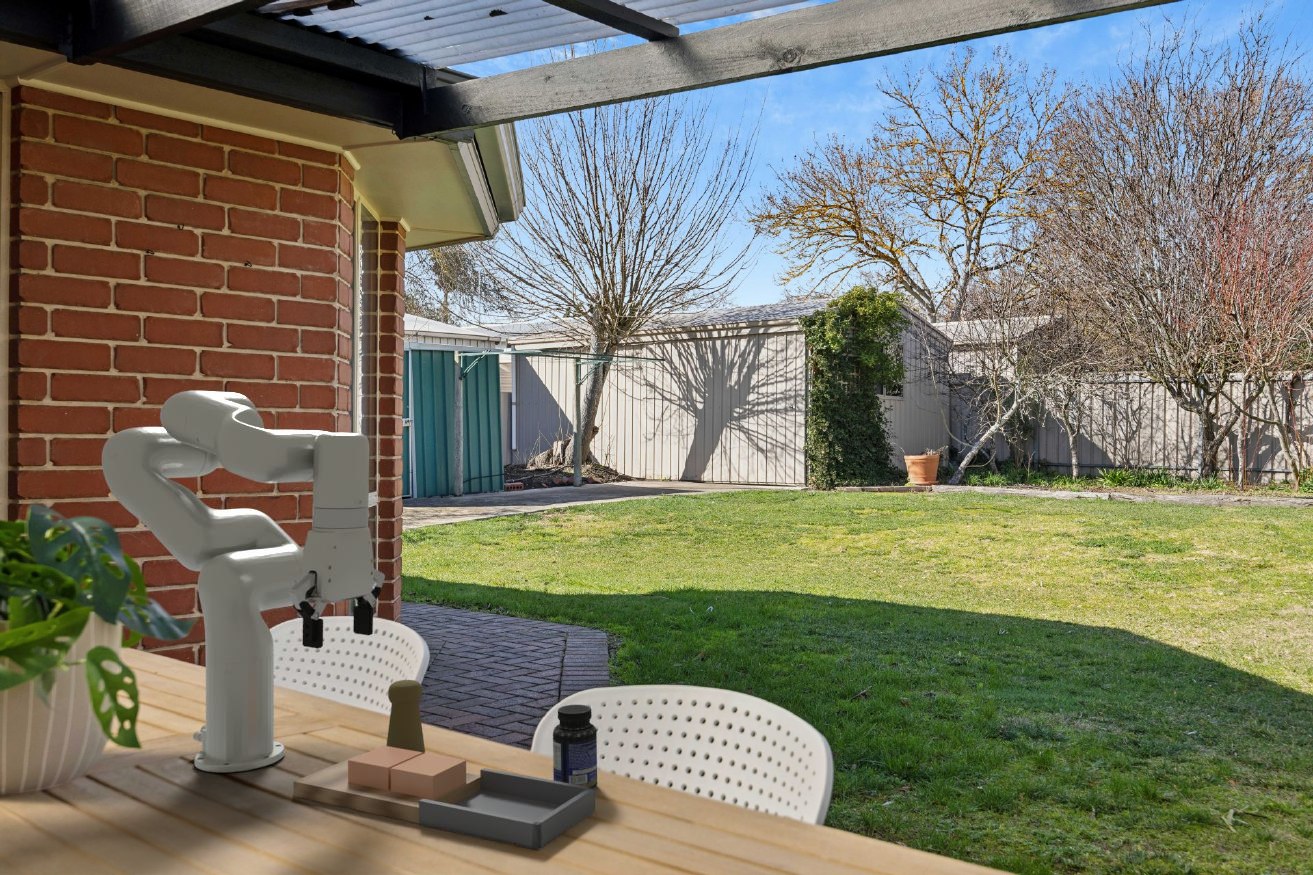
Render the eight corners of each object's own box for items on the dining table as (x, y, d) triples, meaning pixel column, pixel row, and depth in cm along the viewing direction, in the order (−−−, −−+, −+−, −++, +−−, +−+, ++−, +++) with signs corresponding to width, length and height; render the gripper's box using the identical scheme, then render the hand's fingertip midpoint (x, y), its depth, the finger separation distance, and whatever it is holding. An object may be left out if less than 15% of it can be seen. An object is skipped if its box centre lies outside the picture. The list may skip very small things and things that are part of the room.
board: (293, 795, 133) (293, 781, 133) (361, 767, 145) (361, 753, 145) (420, 823, 123) (420, 807, 123) (482, 790, 135) (482, 775, 135)
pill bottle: (603, 782, 138) (603, 704, 138) (586, 797, 132) (586, 716, 132) (564, 778, 140) (563, 701, 140) (545, 792, 134) (545, 712, 134)
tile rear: (348, 782, 132) (348, 760, 132) (383, 766, 139) (383, 745, 139) (387, 790, 129) (387, 767, 129) (422, 773, 136) (422, 752, 136)
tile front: (390, 790, 129) (390, 768, 129) (425, 774, 135) (425, 752, 135) (432, 799, 126) (432, 775, 126) (466, 782, 132) (466, 759, 132)
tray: (419, 824, 123) (418, 800, 123) (483, 789, 135) (483, 767, 135) (537, 850, 115) (537, 824, 115) (595, 810, 127) (595, 787, 127)
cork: (414, 759, 148) (414, 686, 148) (378, 756, 149) (377, 684, 149) (431, 746, 154) (431, 677, 154) (396, 744, 155) (396, 675, 155)
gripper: (363, 514, 147) (361, 626, 147) (272, 522, 132) (270, 649, 132) (402, 516, 144) (400, 632, 144) (314, 526, 128) (311, 655, 129)
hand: (338, 640), depth 138 cm, fingers open, 9 cm apart
